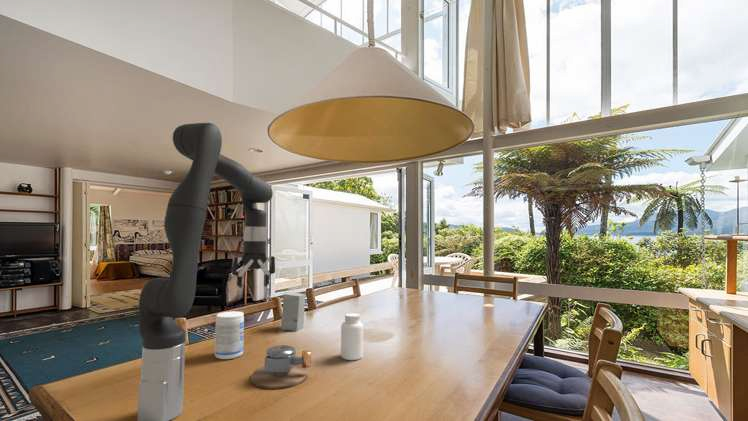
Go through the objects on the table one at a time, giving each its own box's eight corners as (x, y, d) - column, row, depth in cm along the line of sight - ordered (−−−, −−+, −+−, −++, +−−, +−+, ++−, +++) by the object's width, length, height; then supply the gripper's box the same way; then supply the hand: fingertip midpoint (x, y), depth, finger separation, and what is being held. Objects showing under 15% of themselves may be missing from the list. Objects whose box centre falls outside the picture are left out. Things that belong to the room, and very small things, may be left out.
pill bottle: (351, 351, 136) (351, 311, 137) (367, 356, 131) (368, 314, 132) (335, 357, 130) (336, 314, 131) (352, 362, 125) (353, 318, 126)
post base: (301, 389, 104) (302, 368, 104) (242, 388, 104) (243, 367, 104) (312, 366, 121) (312, 348, 122) (261, 365, 122) (262, 347, 122)
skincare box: (280, 329, 163) (281, 294, 164) (288, 325, 170) (289, 291, 170) (297, 331, 160) (298, 295, 161) (305, 327, 167) (305, 292, 168)
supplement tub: (246, 357, 129) (247, 315, 129) (217, 362, 123) (218, 318, 124) (239, 349, 137) (240, 309, 137) (212, 353, 132) (213, 312, 132)
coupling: (262, 372, 108) (262, 354, 109) (270, 361, 117) (271, 345, 117) (307, 373, 108) (308, 355, 109) (312, 362, 117) (313, 346, 117)
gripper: (235, 240, 120) (233, 289, 119) (278, 240, 127) (276, 287, 126) (231, 239, 126) (229, 286, 125) (272, 239, 133) (270, 284, 133)
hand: (253, 286), depth 126 cm, fingers open, 8 cm apart
